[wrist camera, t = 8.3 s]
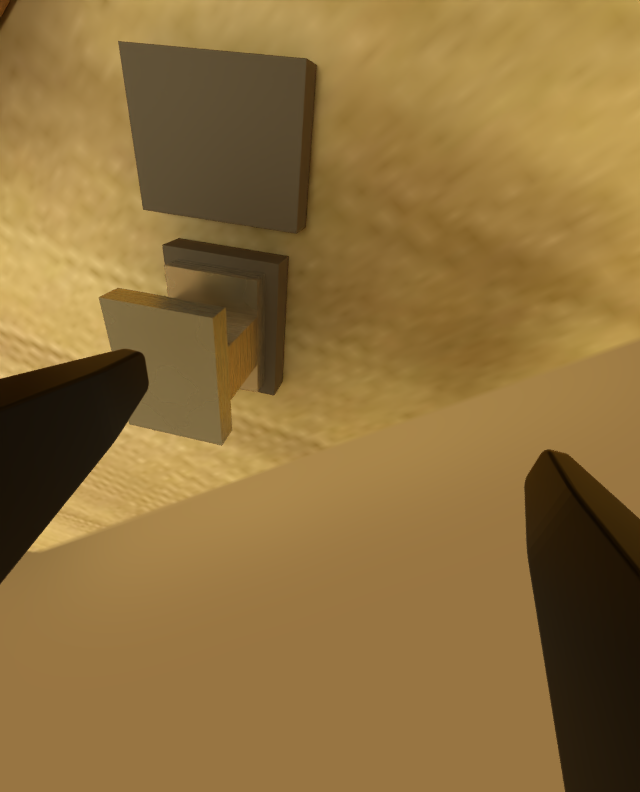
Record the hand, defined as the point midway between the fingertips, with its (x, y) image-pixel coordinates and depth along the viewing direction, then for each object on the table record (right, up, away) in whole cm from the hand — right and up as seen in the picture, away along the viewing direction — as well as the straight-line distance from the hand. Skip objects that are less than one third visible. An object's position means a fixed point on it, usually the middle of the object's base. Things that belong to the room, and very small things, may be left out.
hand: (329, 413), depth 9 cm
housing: (-5, +4, +12) cm, 13 cm away
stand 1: (-4, +11, +8) cm, 15 cm away
